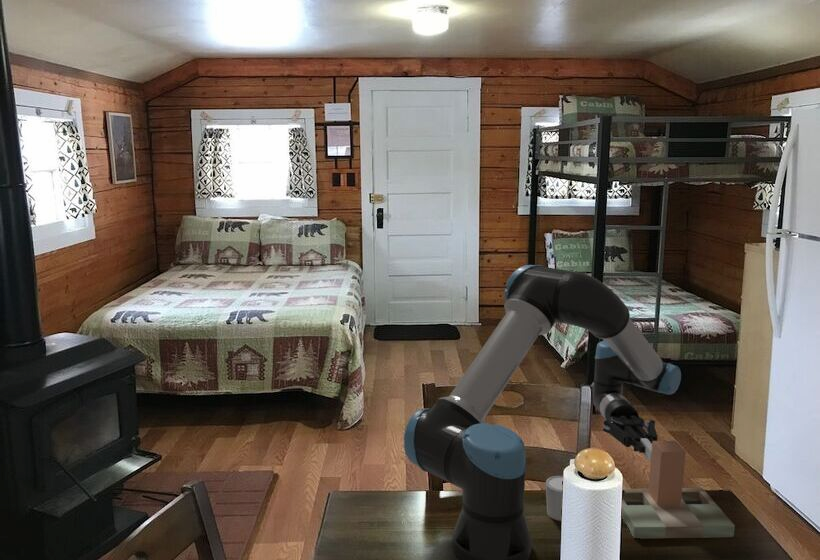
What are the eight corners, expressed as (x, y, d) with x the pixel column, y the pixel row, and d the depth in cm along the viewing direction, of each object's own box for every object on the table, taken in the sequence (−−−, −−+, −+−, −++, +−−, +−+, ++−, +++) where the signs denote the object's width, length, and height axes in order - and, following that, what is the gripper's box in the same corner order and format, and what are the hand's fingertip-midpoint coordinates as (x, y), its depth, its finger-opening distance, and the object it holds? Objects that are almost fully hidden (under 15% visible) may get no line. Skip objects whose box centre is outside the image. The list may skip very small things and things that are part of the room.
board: (610, 499, 148) (611, 489, 148) (701, 498, 149) (702, 487, 148) (633, 538, 134) (634, 527, 134) (733, 537, 135) (734, 525, 134)
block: (648, 492, 147) (652, 440, 144) (671, 492, 147) (675, 440, 144) (656, 504, 142) (661, 451, 139) (680, 504, 142) (685, 451, 139)
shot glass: (578, 524, 139) (579, 493, 138) (544, 520, 140) (545, 490, 139) (576, 506, 146) (578, 476, 144) (544, 503, 147) (545, 473, 146)
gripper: (643, 426, 174) (681, 472, 151) (592, 427, 173) (623, 473, 150) (645, 399, 172) (684, 440, 149) (594, 399, 172) (625, 441, 149)
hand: (653, 456), depth 150 cm, fingers closed
